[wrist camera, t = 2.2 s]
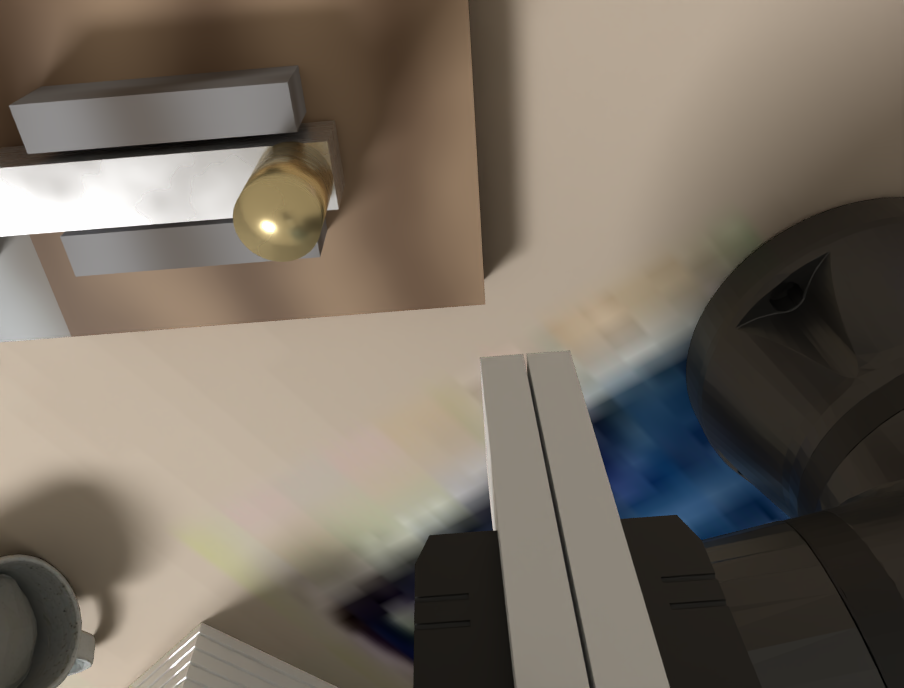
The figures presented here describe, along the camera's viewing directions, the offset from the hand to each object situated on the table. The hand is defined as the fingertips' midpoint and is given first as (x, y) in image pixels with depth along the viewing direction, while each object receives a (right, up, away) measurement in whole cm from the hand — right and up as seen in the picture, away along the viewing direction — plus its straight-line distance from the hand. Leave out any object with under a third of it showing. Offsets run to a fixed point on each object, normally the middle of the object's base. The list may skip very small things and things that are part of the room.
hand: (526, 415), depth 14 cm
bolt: (-11, +8, +14) cm, 19 cm away
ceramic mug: (-26, -14, +30) cm, 42 cm away
